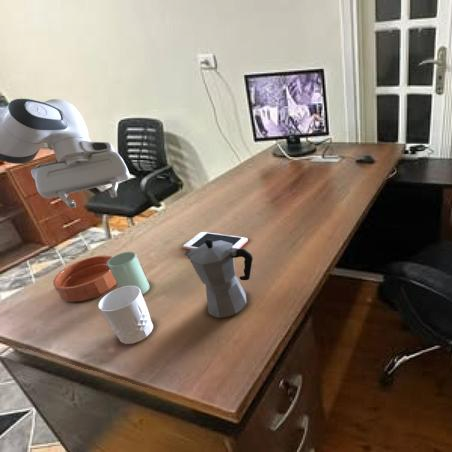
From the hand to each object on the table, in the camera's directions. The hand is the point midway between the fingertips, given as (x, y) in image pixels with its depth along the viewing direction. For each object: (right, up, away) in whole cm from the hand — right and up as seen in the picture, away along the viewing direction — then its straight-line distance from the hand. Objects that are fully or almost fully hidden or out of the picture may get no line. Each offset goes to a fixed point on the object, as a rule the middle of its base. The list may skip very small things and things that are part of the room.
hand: (93, 201), depth 89 cm
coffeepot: (+38, -25, -7) cm, 46 cm away
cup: (+10, -23, +1) cm, 25 cm away
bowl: (-3, -22, +4) cm, 23 cm away
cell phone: (+25, -12, +18) cm, 33 cm away
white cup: (+18, -30, -12) cm, 37 cm away
